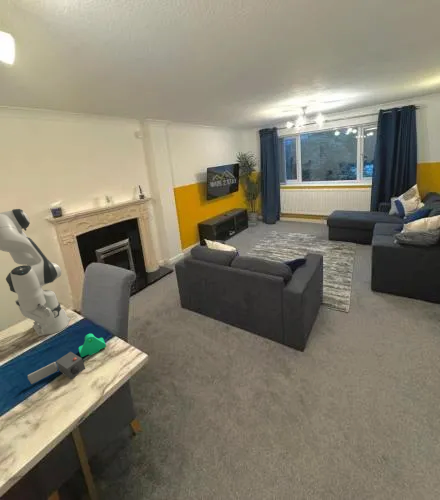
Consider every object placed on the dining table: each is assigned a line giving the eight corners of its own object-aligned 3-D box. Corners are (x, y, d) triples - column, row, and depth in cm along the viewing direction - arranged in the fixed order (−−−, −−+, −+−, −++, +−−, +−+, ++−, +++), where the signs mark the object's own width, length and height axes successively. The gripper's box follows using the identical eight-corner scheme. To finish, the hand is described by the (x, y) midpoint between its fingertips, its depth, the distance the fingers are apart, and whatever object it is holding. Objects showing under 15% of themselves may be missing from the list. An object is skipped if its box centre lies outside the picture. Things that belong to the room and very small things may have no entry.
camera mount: (103, 340, 142) (99, 325, 138) (106, 348, 136) (102, 332, 132) (79, 351, 136) (74, 334, 132) (81, 359, 130) (76, 342, 126)
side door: (57, 368, 123) (54, 360, 122) (58, 370, 122) (55, 362, 121) (30, 383, 116) (26, 374, 115) (30, 384, 115) (27, 376, 114)
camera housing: (59, 371, 123) (55, 360, 121) (74, 361, 128) (70, 350, 126) (72, 380, 117) (67, 368, 115) (86, 369, 123) (82, 358, 120)
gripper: (54, 303, 110) (63, 330, 116) (28, 293, 120) (37, 318, 125) (39, 311, 105) (48, 338, 110) (12, 300, 115) (23, 326, 120)
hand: (42, 328), depth 118 cm, fingers closed
